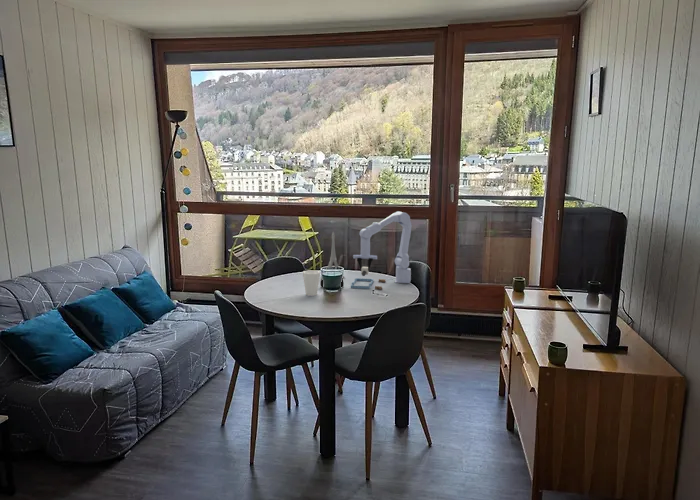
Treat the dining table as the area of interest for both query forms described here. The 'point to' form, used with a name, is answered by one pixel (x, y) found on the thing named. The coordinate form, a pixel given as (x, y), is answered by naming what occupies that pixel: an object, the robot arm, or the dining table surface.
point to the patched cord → (364, 271)
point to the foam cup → (311, 282)
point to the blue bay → (362, 286)
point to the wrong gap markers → (380, 286)
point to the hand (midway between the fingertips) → (365, 270)
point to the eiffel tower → (333, 253)
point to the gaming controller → (322, 283)
